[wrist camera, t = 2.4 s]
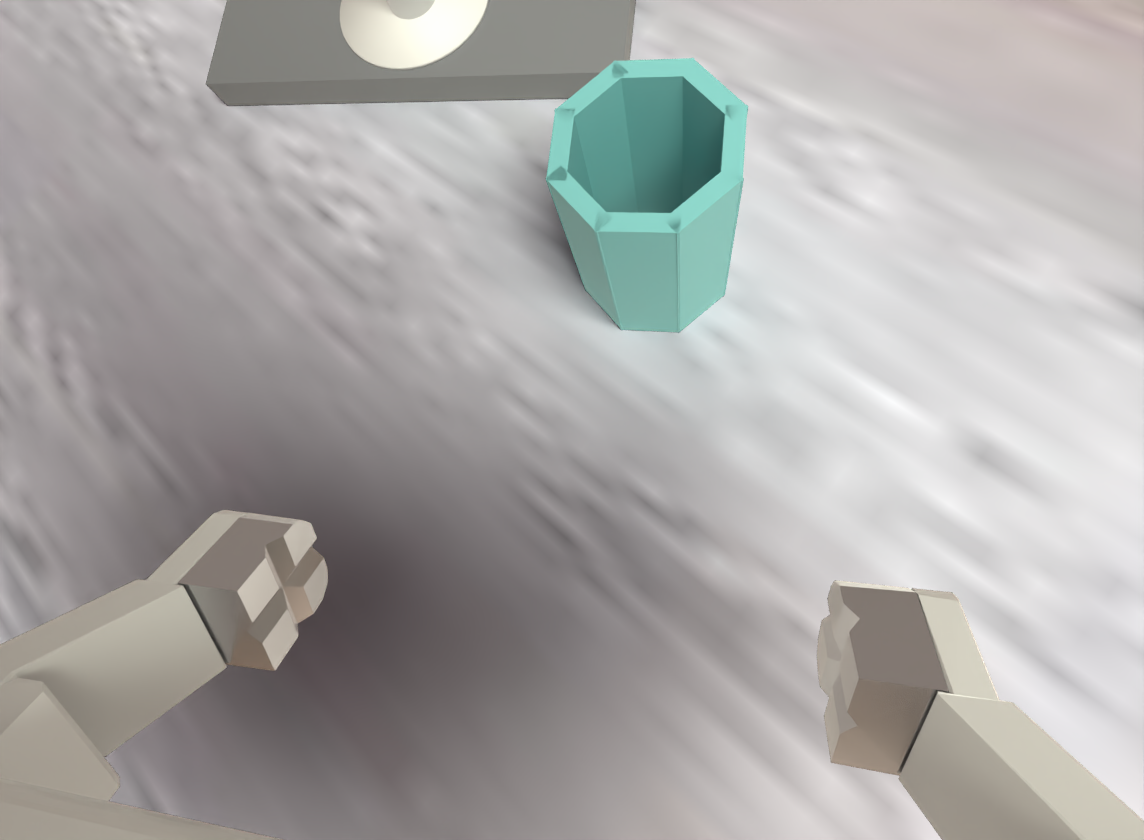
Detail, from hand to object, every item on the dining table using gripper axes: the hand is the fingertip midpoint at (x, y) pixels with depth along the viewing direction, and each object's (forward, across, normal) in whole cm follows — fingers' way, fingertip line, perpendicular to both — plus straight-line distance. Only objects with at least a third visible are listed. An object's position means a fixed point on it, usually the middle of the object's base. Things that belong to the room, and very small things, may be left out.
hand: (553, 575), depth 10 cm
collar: (+19, 0, +2) cm, 19 cm away
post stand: (+27, +12, -7) cm, 30 cm away
